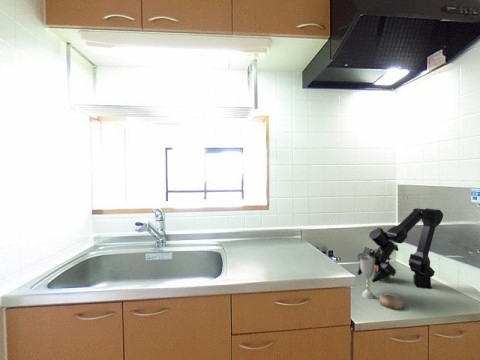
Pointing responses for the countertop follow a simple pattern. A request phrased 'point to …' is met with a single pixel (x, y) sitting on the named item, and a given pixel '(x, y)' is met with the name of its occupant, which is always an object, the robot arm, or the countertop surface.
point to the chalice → (367, 272)
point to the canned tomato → (383, 278)
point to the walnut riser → (391, 302)
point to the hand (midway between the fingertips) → (365, 278)
